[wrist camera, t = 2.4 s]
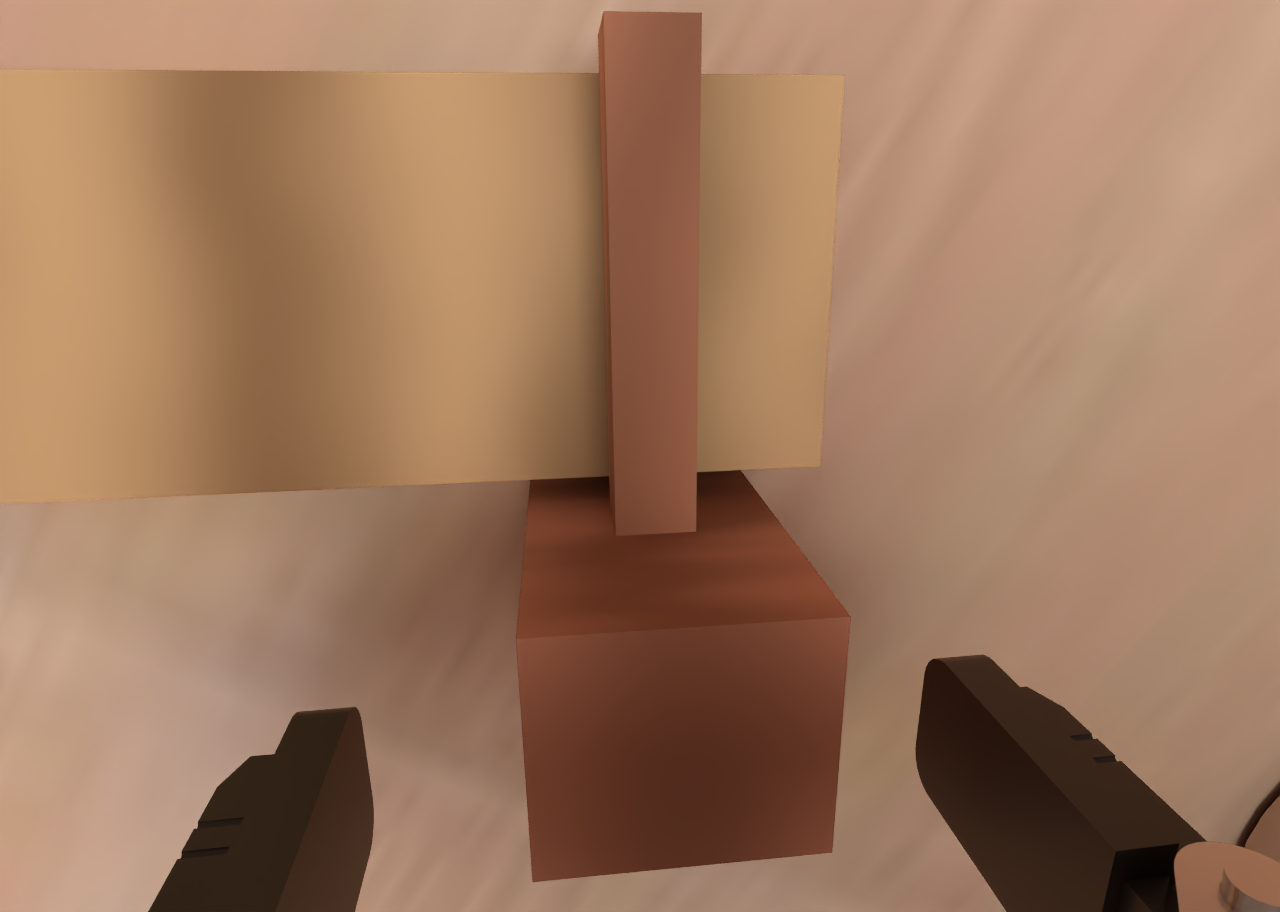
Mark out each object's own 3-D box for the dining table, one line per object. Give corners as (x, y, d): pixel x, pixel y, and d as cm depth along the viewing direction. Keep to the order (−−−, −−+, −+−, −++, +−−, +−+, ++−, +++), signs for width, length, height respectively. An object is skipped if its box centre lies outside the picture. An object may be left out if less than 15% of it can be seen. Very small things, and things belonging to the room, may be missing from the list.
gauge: (744, 65, 15) (903, -66, 8) (729, 645, 18) (829, 886, 12) (508, 63, 14) (467, -76, 8) (541, 658, 18) (534, 916, 11)
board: (807, 93, 15) (846, 74, 13) (790, 438, 17) (821, 467, 15) (-279, 89, 13) (-431, 65, 11) (-148, 478, 15) (-255, 517, 13)
